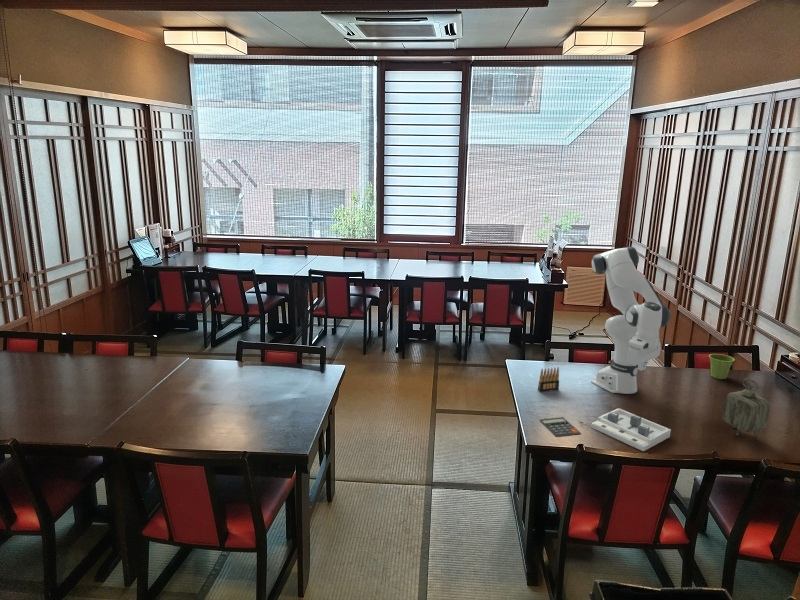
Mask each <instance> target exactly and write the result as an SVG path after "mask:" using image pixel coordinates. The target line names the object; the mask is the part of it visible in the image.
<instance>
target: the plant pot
mask: <svg viewBox="0 0 800 600" xmlns="http://www.w3.org/2000/svg"><path fill="white" fill-rule="evenodd" d="M708 357H709V361H710V362H709V363H710V376H711V377H712V378H714V379H718V380H726V379H727V377H728V374H729V373H730V369H731V367H732V365H733V362H734V361H735V358H734V357H732V356H730V355H726V354H721V353H711V354H709V355H708Z"/></svg>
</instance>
